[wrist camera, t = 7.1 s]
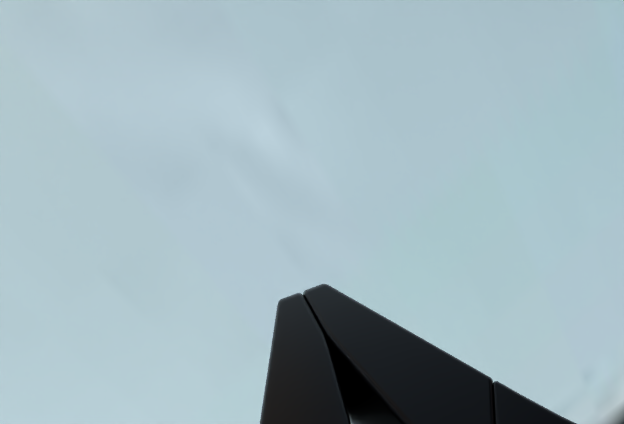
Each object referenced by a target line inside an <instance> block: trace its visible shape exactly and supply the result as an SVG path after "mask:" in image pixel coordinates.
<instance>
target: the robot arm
mask: <svg viewBox="0 0 624 424" xmlns="http://www.w3.org/2000/svg"><path fill="white" fill-rule="evenodd" d="M260 424H576V423H574V422H572V421H570V420H568V419H566V418H564V417H562V416H559V415H558V414H556V413H554V412H552V411H550V410H548V409H546V408H545V407H543V406H541V405H539V404H537V403H535V402H533V401H532V400H530V399H528V398H526V397H524V396H522V395H520V394H519V393H517V392H515V391H513V390H512V389H510V388H508V387H506V386H505V385H503V384H501V383H499V382H498V381H495V382H494V383H493V381H492V379H491V378H490V377H488V376H487V375H485V374H483V373H481V372H480V371H478V370H476V369H474V368H473V367H471V366H469V365H467V364H466V363H464V362H462V361H460V360H459V359H457V358H455V357H453V356H452V355H450V354H448V353H446V352H445V351H443V350H441V349H439V348H438V347H436V346H434V345H432V344H431V343H429V342H427V341H425V340H424V339H422V338H420V337H418V336H417V335H415V334H413V333H411V332H410V331H408V330H406V329H404V328H403V327H401V326H399V325H397V324H395V323H394V322H392V321H390V320H388V319H387V318H385V317H383V316H381V315H380V314H378V313H376V312H374V311H373V310H371V309H369V308H367V307H366V306H364V305H362V304H360V303H359V302H357V301H355V300H353V299H352V298H350V297H348V296H346V295H345V294H343V293H341V292H339V291H338V290H336V289H334V288H332V287H331V286H329V285H327V284H321V285H319V286H316V287H313V288H310V289H308V290H305V291H304V293H303V295H302V294H301V293H297V294H294V295H291V296H289V297H286V298H283V299H281V300H280V301H279V302H278V306H277V313H276V319H275V326H274V333H273V339H272V346H271V353H270V359H269V366H268V373H267V379H266V386H265V393H264V399H263V406H262V413H261V419H260Z"/></svg>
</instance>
